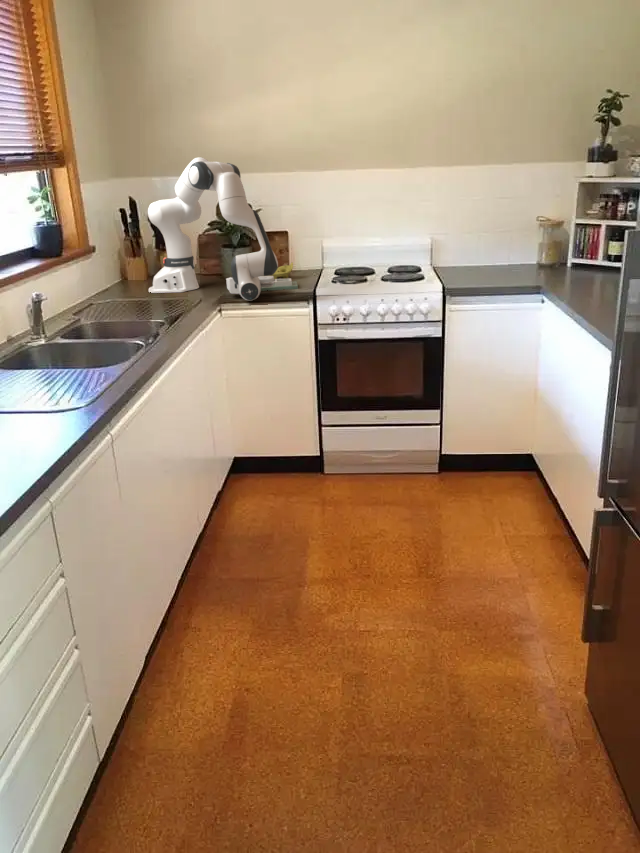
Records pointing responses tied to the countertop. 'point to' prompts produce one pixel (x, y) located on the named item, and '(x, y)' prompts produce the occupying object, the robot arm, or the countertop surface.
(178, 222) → the robot arm
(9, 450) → the countertop surface
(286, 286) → the board
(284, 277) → the plastic component
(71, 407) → the countertop surface
